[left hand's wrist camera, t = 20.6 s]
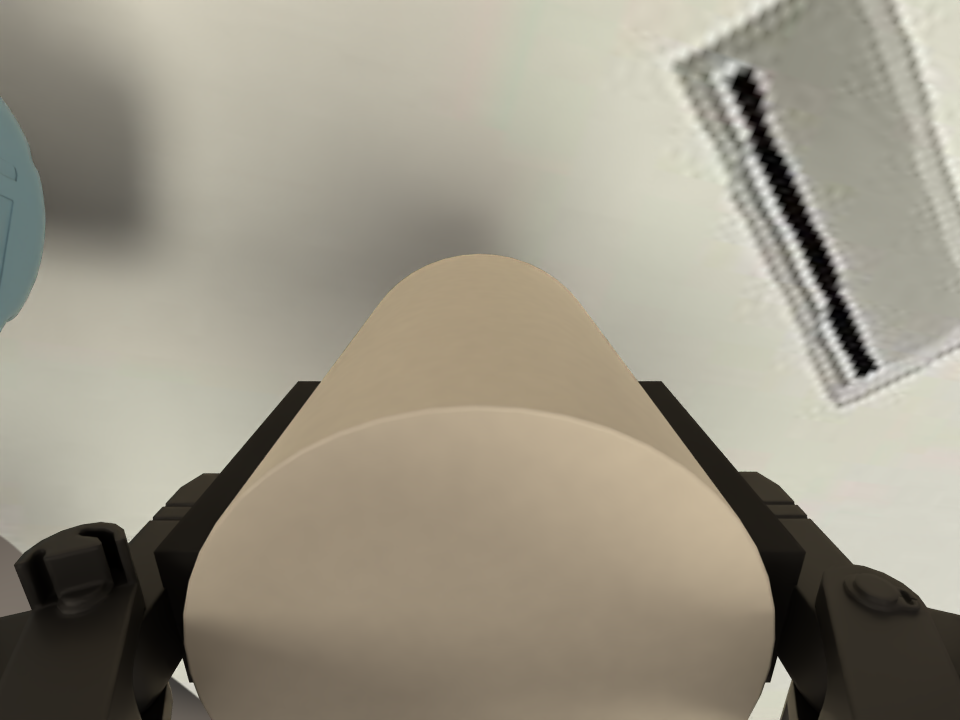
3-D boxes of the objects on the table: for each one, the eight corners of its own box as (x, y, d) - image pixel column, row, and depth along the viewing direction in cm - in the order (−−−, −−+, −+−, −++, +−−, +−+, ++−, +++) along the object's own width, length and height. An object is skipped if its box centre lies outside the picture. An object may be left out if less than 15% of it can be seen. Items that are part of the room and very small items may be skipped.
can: (461, 515, 20) (440, 904, 9) (308, 355, 17) (54, 634, 7) (646, 393, 18) (876, 706, 7) (502, 197, 16) (548, 257, 5)
